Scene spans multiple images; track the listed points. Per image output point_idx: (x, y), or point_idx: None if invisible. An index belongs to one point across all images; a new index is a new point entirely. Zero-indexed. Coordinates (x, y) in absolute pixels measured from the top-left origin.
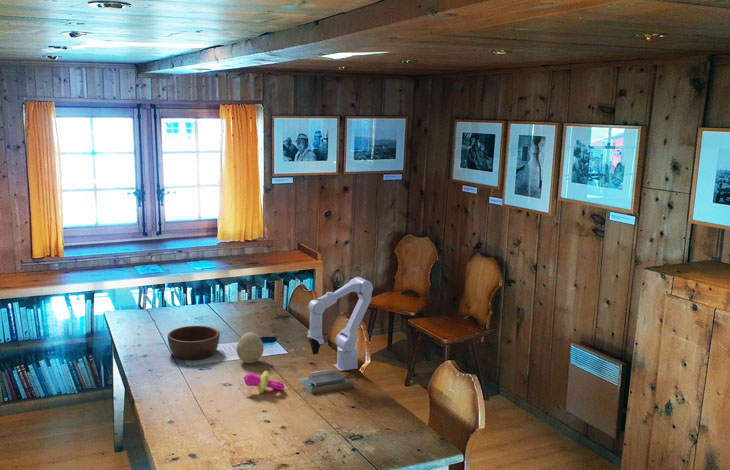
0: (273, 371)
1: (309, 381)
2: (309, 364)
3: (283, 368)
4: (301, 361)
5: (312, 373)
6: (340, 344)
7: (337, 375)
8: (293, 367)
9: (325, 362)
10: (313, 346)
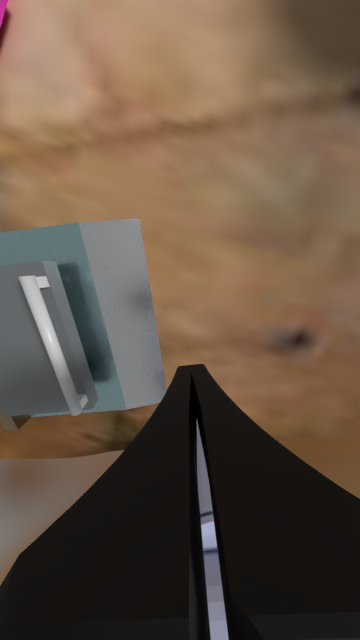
0: (281, 87)
1: (68, 268)
2: (289, 327)
3: (299, 176)
4: (341, 301)
5: (22, 284)
6: (219, 596)
7: (42, 399)
8: (287, 240)
9: (280, 391)
10: (129, 447)
